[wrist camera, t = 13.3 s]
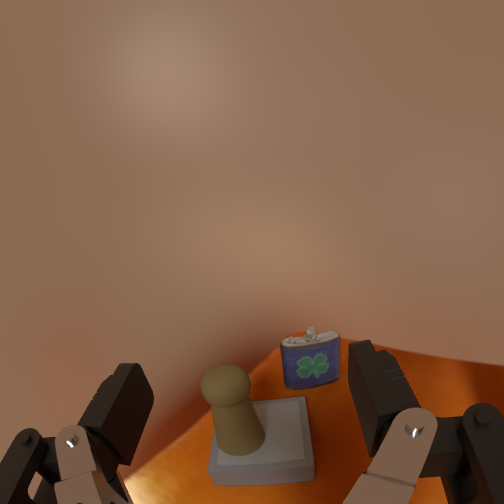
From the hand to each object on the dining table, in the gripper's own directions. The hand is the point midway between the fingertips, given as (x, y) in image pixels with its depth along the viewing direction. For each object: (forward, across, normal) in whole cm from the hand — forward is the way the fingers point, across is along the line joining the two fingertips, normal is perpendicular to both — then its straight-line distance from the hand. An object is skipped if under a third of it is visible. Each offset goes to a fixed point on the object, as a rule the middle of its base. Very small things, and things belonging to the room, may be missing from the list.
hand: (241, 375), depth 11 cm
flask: (+28, -5, +28) cm, 40 cm away
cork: (+14, +5, +24) cm, 28 cm away
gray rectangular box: (+15, +3, +28) cm, 32 cm away
